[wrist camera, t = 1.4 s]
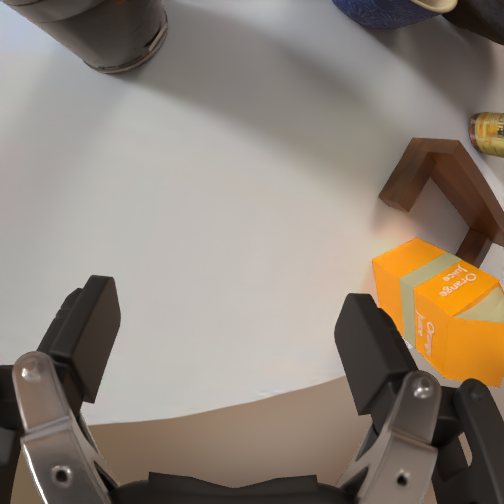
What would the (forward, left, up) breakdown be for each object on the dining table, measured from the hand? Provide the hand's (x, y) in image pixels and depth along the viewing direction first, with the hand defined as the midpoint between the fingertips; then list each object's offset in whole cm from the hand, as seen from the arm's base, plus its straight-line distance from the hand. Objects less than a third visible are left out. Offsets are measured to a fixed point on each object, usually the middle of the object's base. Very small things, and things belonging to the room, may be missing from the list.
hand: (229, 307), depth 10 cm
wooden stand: (+5, +30, -21) cm, 37 cm away
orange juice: (+13, +23, -21) cm, 34 cm away
